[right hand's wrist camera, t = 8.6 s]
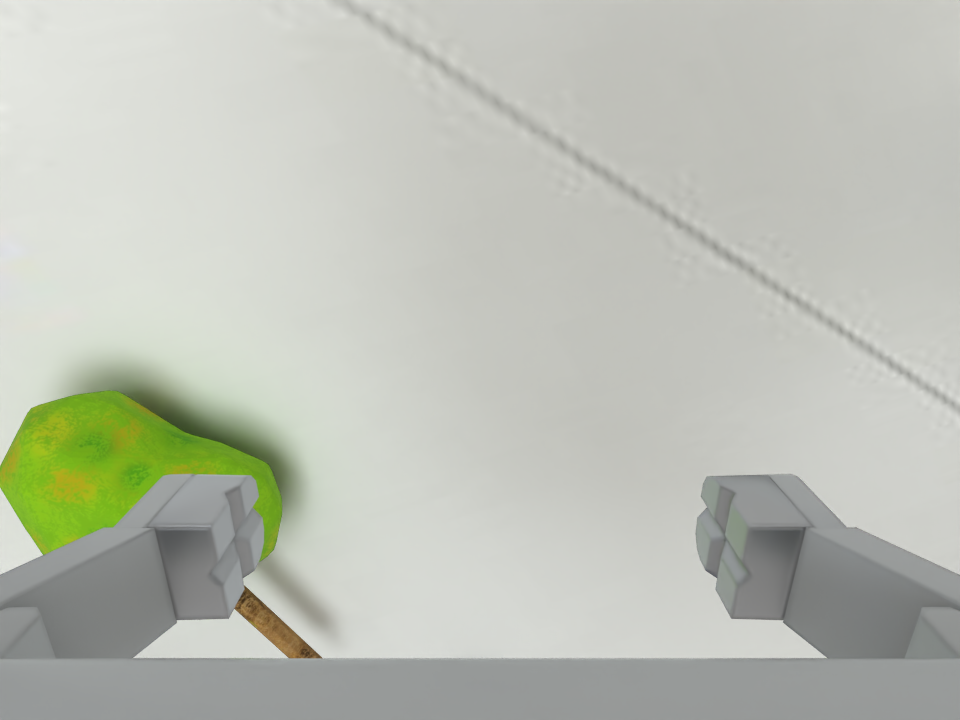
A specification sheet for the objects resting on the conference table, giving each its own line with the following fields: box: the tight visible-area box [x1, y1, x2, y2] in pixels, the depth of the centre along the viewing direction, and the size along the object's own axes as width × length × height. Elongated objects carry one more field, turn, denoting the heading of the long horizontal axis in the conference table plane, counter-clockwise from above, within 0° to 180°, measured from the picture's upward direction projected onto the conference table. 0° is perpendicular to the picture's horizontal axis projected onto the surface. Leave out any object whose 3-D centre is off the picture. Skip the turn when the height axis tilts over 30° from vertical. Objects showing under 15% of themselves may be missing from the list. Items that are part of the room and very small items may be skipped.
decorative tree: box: [0, 391, 322, 658], centre depth 44 cm, size 18×10×30 cm
